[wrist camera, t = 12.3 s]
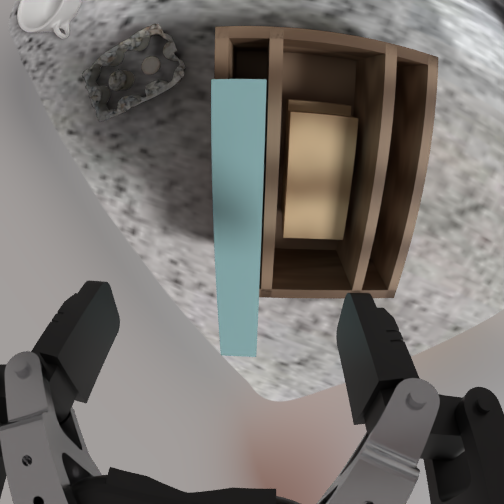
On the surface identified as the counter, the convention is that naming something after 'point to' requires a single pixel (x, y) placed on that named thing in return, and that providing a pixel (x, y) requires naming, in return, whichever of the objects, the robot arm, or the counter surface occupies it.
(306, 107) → the oak offcut lower
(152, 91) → the egg carton
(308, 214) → the oak offcut upper
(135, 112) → the counter surface
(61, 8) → the teacup
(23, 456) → the robot arm
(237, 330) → the teal board
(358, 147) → the rack
